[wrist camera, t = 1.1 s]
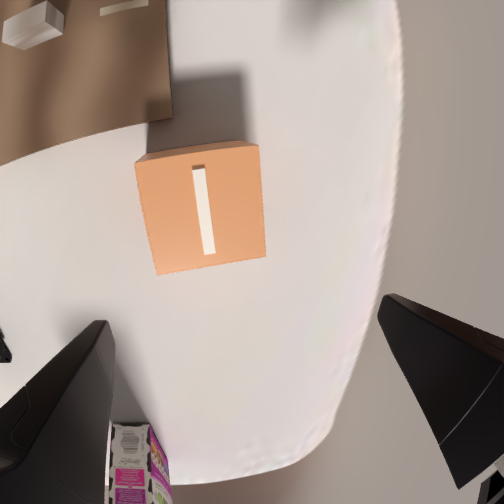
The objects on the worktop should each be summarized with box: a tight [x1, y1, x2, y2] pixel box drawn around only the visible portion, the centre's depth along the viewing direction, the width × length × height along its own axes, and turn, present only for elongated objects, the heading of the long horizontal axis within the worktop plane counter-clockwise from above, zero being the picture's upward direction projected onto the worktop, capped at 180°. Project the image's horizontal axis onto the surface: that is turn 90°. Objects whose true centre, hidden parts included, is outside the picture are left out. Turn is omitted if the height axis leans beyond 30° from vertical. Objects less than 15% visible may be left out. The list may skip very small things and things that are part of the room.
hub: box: [134, 140, 266, 275], centre depth 16 cm, size 6×6×5 cm
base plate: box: [0, 0, 173, 166], centre depth 10 cm, size 16×16×4 cm
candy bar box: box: [109, 423, 172, 504], centre depth 22 cm, size 11×5×16 cm, turn 179°
